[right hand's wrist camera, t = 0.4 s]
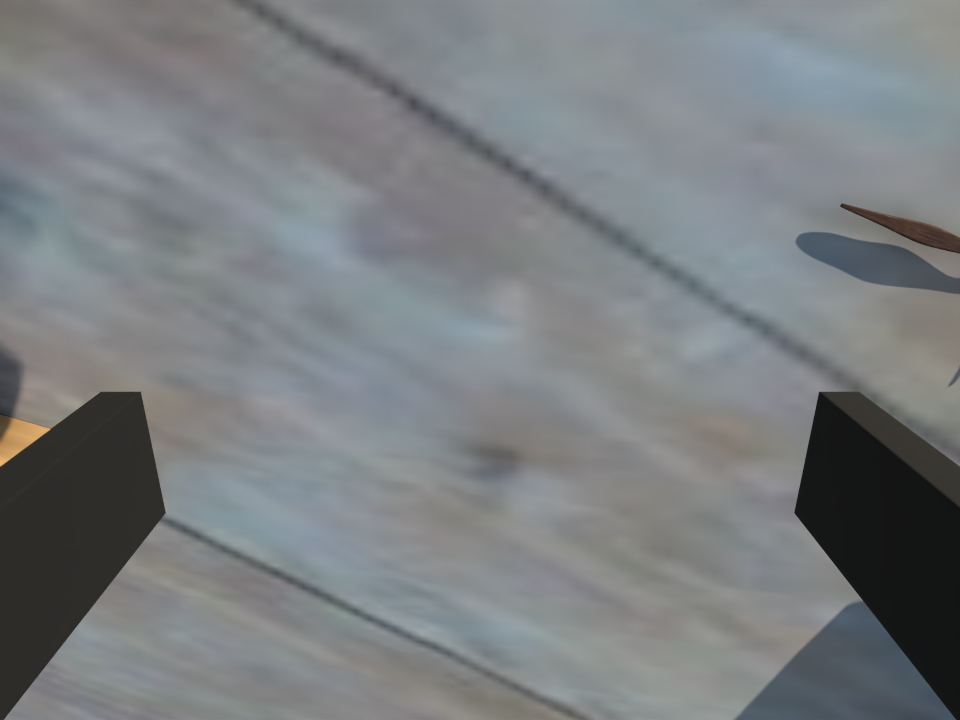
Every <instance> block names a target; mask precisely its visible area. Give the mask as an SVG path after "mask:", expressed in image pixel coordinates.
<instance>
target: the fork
mask: <svg viewBox="0 0 960 720" xmlns="http://www.w3.org/2000/svg"><path fill="white" fill-rule="evenodd" d="M840 207H842V208H844V209H846V210H849V211H851V212H853V213H855V214H858V215H860V216H862V217H864V218H866V219H869V220H871V221H873V222H875V223H877V224H879V225H882V226H884V227H886V228H888V229H890V230H892V231H894V232H896V233H898V234H900V235H902V236H904V237H906V238H908V239H910V240H913V241H915V242H917V243H920V244H923V245H926V246H930V247H934V248H938V249H942V250H947V251H951V252H956V253H960V238H959V237H957V236H955V235H953V234H951V233H949V232H947V231H945V230H943V229H940V228H938V227H935V226H932V225H929V224H925V223H922V222H917V221H913V220H908V219H904V218H899V217H894V216H890V215H886V214H881V213H877V212H873V211H869V210H865V209H862V208H858V207H854V206H850V205H846V204H841V206H840Z"/></svg>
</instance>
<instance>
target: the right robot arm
mask: <svg viewBox="0 0 960 720" xmlns="http://www.w3.org/2000/svg"><path fill="white" fill-rule="evenodd" d="M165 513H166V512H165V508H164V503H163V498H162V493H161V488H160V483H159V478H158V474H157V469H156V464H155V459H154V454H153V449H152V444H151V439H150V435H149V430H148V425H147V420H146V415H145V410H144V405H143V401H142V396H141V392H100V393H99V394H98V395H96V396H95V397H94V398H92V399H91V400H89V401H88V402H87V403H85V404H84V405H83V406H81V407H80V408H79V409H77V410H76V411H75V412H73V413H72V414H71V415H69V416H68V417H67V418H65V419H64V420H62V421H61V422H60V423H58V424H57V425H56V426H54V427H53V428H52V429H50V430H49V431H48V432H46V433H45V434H44V435H42V436H41V437H40V438H38V439H37V440H35V441H34V442H33V443H31V444H30V445H29V446H27V447H26V448H25V449H23V450H22V451H21V452H19V453H18V454H17V455H15V456H14V457H13V458H11V459H10V460H8V461H7V462H6V463H4V464H3V465H2V466H0V720H4V719H5V717H6V716H7V715H8V713H9V712H10V711H11V710H12V708H13V707H14V706H15V704H16V703H17V702H18V701H19V699H20V698H21V697H22V696H23V694H24V693H25V692H26V690H27V689H28V688H29V687H30V685H31V684H32V683H33V682H34V680H35V679H36V678H37V676H38V675H39V674H40V673H41V671H42V670H43V669H44V667H45V666H46V665H47V664H48V662H49V661H50V660H51V659H52V657H53V656H54V655H55V653H56V652H57V651H58V650H59V648H60V647H61V646H62V644H63V643H64V642H65V641H66V639H67V638H68V637H69V636H70V634H71V633H72V632H73V630H74V629H75V628H76V627H77V625H78V624H79V623H80V621H81V620H82V619H83V618H84V616H85V615H86V614H87V613H88V611H89V610H90V609H91V607H92V606H93V605H94V604H95V602H96V601H97V600H98V599H99V597H100V596H101V595H102V593H103V592H104V591H105V590H106V588H107V587H108V586H109V584H110V583H111V582H112V581H113V579H114V578H115V577H116V576H117V574H118V573H119V572H120V570H121V569H122V568H123V567H124V565H125V564H126V563H127V561H128V560H129V559H130V558H131V556H132V555H133V554H134V553H135V551H136V550H137V549H138V547H139V546H140V545H141V544H142V542H143V541H144V540H145V538H146V537H147V536H148V535H149V533H150V532H151V531H152V530H153V528H154V527H155V526H156V524H157V523H158V522H159V521H160V519H161V518H162V517H163V516H164V514H165ZM794 513H795V514H796V516H797V517H798V518H799V519H800V521H801V522H802V523H803V524H804V526H805V527H806V528H807V530H808V531H809V532H810V533H811V535H812V536H813V537H814V538H815V540H816V541H817V542H818V544H819V545H820V546H821V547H822V549H823V550H824V551H825V553H826V554H827V555H828V556H829V558H830V559H831V560H832V561H833V563H834V564H835V565H836V567H837V568H838V569H839V570H840V572H841V573H842V574H843V576H844V577H845V578H846V579H847V581H848V582H849V583H850V584H851V586H852V587H853V588H854V590H855V591H856V592H857V593H858V595H859V596H860V597H861V599H862V600H863V601H864V602H865V604H866V605H867V606H868V607H869V609H870V610H871V611H872V613H873V614H874V615H875V616H876V618H877V619H878V620H879V621H880V623H881V624H882V625H883V627H884V628H885V629H886V630H887V632H888V633H889V634H890V636H891V637H892V638H893V639H894V641H895V642H896V643H897V644H898V646H899V647H900V648H901V650H902V651H903V652H904V653H905V655H906V656H907V657H908V659H909V660H910V661H911V662H912V664H913V665H914V666H915V667H916V669H917V670H918V671H919V673H920V674H921V675H922V676H923V678H924V679H925V680H926V682H927V683H928V684H929V685H930V687H931V688H932V689H933V690H934V692H935V693H936V694H937V696H938V697H939V698H940V699H941V701H942V702H943V703H944V704H945V706H946V707H947V708H948V710H949V711H950V712H951V713H952V715H953V716H954V717H955V719H956V720H960V466H958V465H957V464H956V463H954V462H953V461H952V460H950V459H949V458H947V457H946V456H945V455H943V454H942V453H941V452H939V451H938V450H937V449H935V448H934V447H933V446H931V445H930V444H929V443H927V442H926V441H925V440H923V439H922V438H920V437H919V436H918V435H916V434H915V433H914V432H912V431H911V430H910V429H908V428H907V427H906V426H904V425H903V424H902V423H900V422H899V421H898V420H896V419H895V418H893V417H892V416H891V415H889V414H888V413H887V412H885V411H884V410H883V409H881V408H880V407H879V406H877V405H876V404H875V403H873V402H872V401H871V400H869V399H868V398H866V397H865V396H864V395H862V394H861V393H860V392H819V396H818V401H817V405H816V410H815V415H814V420H813V425H812V430H811V435H810V439H809V444H808V449H807V454H806V459H805V464H804V469H803V474H802V478H801V483H800V488H799V493H798V498H797V503H796V508H795V512H794Z"/></svg>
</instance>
